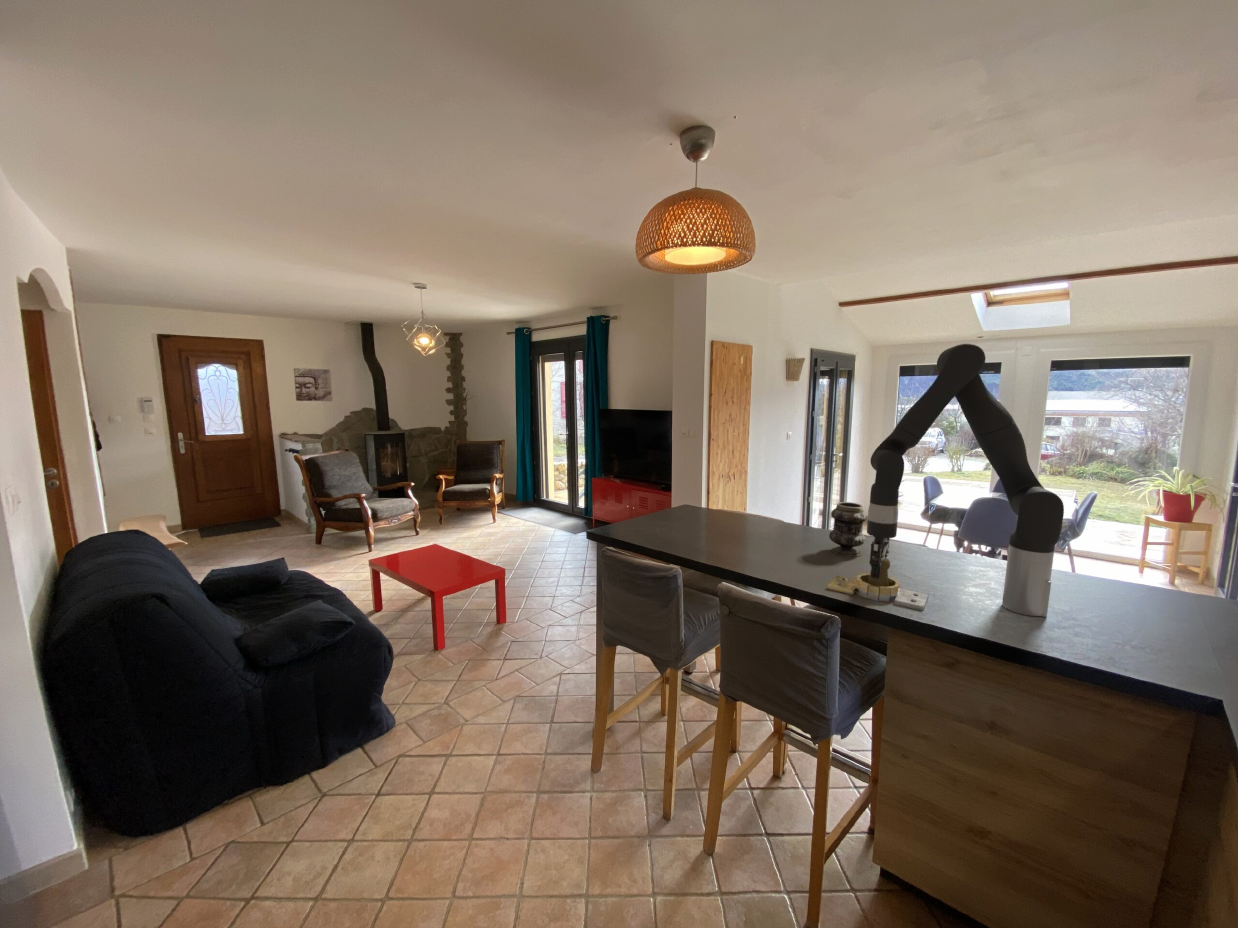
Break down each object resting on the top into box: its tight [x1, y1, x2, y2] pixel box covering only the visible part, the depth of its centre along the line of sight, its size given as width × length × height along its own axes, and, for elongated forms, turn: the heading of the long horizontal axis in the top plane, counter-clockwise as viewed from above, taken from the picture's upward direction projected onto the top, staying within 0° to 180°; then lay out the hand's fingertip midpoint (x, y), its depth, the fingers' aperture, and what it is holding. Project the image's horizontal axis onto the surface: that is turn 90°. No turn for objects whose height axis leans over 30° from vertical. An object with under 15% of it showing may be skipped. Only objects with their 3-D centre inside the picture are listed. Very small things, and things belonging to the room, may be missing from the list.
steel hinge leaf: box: [855, 581, 929, 612], centre depth 142 cm, size 18×11×2 cm, turn 52°
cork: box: [868, 557, 891, 587], centre depth 143 cm, size 6×6×11 cm
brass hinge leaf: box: [827, 572, 901, 596], centre depth 146 cm, size 18×11×4 cm, turn 52°
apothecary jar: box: [828, 501, 868, 557], centre depth 180 cm, size 12×12×18 cm
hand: (878, 573), depth 143 cm, fingers open, 8 cm apart
